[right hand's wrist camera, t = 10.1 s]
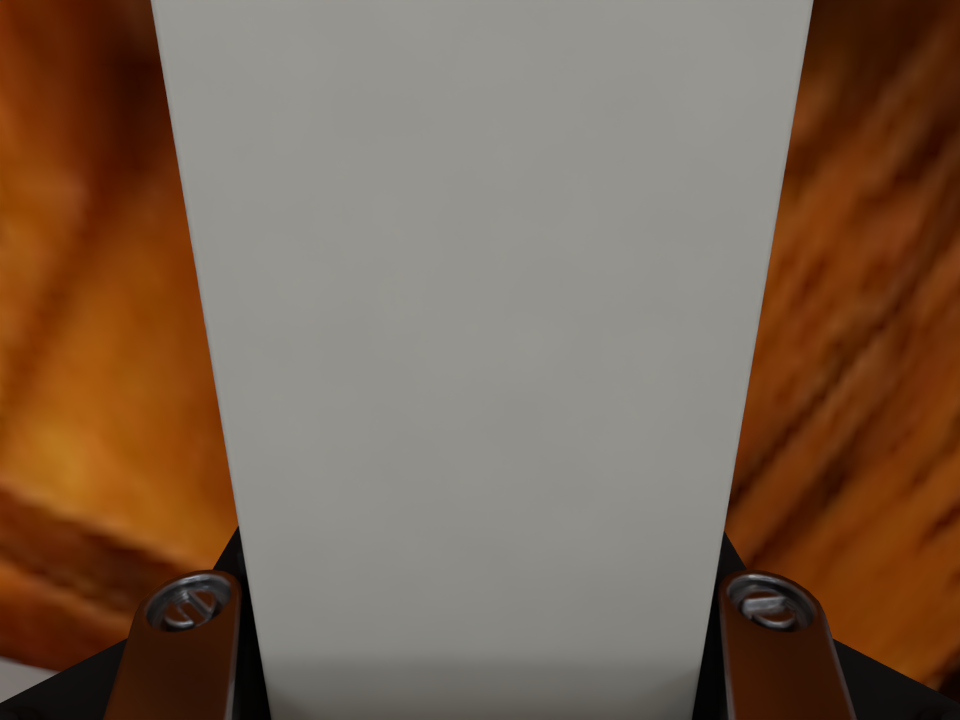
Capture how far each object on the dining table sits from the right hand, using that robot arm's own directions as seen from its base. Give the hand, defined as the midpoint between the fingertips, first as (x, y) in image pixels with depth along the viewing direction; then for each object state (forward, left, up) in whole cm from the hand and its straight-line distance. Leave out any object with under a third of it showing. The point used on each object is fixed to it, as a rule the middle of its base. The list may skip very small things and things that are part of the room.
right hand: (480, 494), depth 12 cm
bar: (+22, 0, -2) cm, 22 cm away
